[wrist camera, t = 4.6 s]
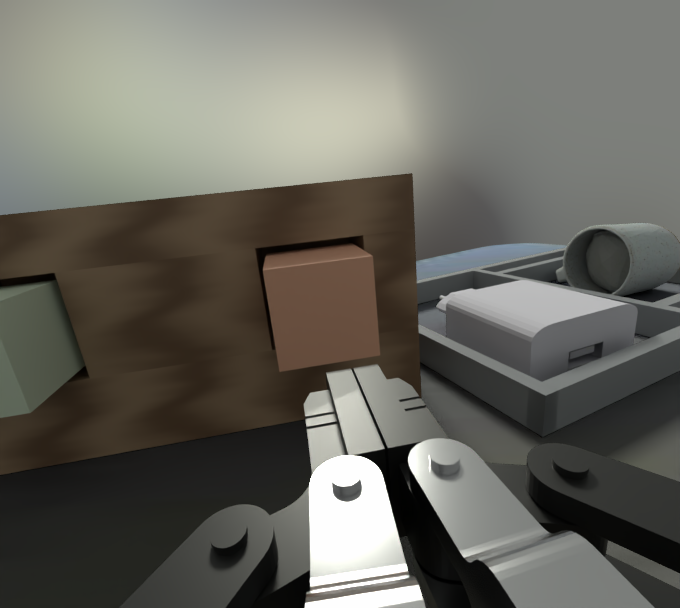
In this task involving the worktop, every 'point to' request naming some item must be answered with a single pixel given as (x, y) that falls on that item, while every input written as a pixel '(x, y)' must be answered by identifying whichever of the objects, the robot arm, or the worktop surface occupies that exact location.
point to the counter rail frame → (565, 389)
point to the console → (196, 311)
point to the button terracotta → (322, 305)
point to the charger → (538, 326)
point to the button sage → (34, 346)
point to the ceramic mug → (620, 258)
